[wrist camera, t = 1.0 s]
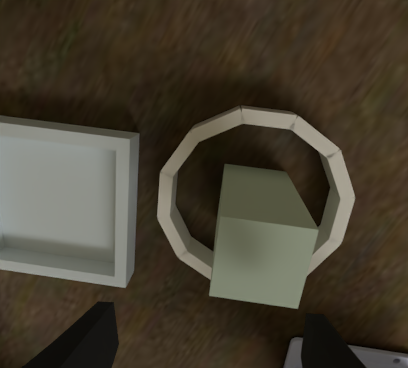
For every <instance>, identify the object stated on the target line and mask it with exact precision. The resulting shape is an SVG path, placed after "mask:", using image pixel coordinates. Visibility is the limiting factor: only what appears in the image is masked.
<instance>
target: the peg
mask: <svg viewBox="0 0 408 368" xmlns="http://www.w3.org/2000/svg"><path fill="white" fill-rule="evenodd" d="M318 231H319V229H318V227H317V226H316V224H315V222H314V220H313V219H312V217H311V215H310V213H309V211H308V210H307V208H306V206H305V204H304V203H303V201H302V199H301V197H300V196H299V194H298V192H297V190H296V188H295V187H294V185H293V183H292V181H291V180H290V178H289V176H288V174H287V173H286V172H285V171H277V170H269V169H262V168H254V167H246V166H239V165H231V164H225V165H224V172H223V179H222V186H221V193H220V201H219V208H218V215H217V224H216V233H215V243H214V253H213V263H212V273H211V282H210V292H209V296H214V297H221V298H228V299H234V300H241V301H248V302H255V303H261V304H268V305H275V306H282V307H288V308H295V309H298V306H299V302H300V299H301V295H302V291H303V287H304V284H305V280H306V276H307V273H308V269H309V265H310V261H311V258H312V254H313V250H314V246H315V243H316V239H317V235H318Z"/></svg>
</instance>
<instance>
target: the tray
mask: <svg viewBox="0 0 408 368" xmlns="http://www.w3.org/2000/svg"><path fill="white" fill-rule="evenodd" d="M139 135H140V133H134V132H126V131H118V130H111V129H103V128H95V127H87V126H79V125H71V124H64V123H56V122H48V121H40V120H32V119H24V118H16V117H9V116H1V115H0V269H3V270H9V271H16V272H23V273H29V274H36V275H43V276H49V277H56V278H63V279H69V280H76V281H83V282H89V283H96V284H103V285H109V286H116V287H123V288H126V286H127V284H128V282H129V280H130V278H131V276H132V274H133V272H134V262H135V237H136V211H137V186H138V160H139Z"/></svg>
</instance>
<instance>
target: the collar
mask: <svg viewBox="0 0 408 368" xmlns="http://www.w3.org/2000/svg"><path fill="white" fill-rule="evenodd" d="M240 124H251V125H259V126H267V127H275V128H283V129H291V130H292V131H293V132H295V133H296V134H297V135H299V136H300V137H301V138H302V139H304V140H305V141H306V142H307V143H309V144H310V145H311V146H312V147H314V148H315V149H316V150H318V152H319V155H320V158H321V161H322V164H323V167H324V170H325V173H326V176H327V179H328V182H329V185H330V191H329V195H328V198H327V202H326V206H325V209H324V213H323V217H322V221H321V224H320V225H319V226H318V229H319V231H318V235H317V239H316V243H315V246H314V250H313V254H312V258H311V261H310V265H309V269H308V273H307V275H309V274H310V273H311V272H312V271H313V270H314V269H315V268H316V267H317V266H318V265H319V264H320V263H321V262H323V261H324V260H325V259H326V258H327V257H328V256H329V255H330V254H331V253H332V252H333V251H334V250H335V249H336V248H338V247H339V246H340V245H341V244H340V243H342V240H343V237H344V234H345V230H346V227H347V224H348V220H349V217H350V214H351V210H352V207H353V204H354V200H355V198H354V197H355V195H354V192H353V188H352V185H351V182H350V179H349V175H348V172H347V169H346V166H345V162H344V159H343V156H342V153H341V150H340V149H339V148H338V147H337V146H336V145H334V144H333V143H332V142H331V141H329V140H328V139H327V138H326V137H324V136H323V135H322V134H321V133H319V132H318V131H317V130H316V129H314V128H313V127H312V126H311V125H309V124H308V123H307V122H306V121H304V120H303V119H302V118H301V117H299V116H298V115H296V114H295V113H293V112H291V111H284V110H276V109H268V108H259V107H251V106H243V105H241V109H240V106H237V107H235V108H232V109H230V110H228V111H225V112H223V113H221V114H219V115H216V116H214V117H212V118H209V119H207V120H205V121H202V122H200V123H198V124H195V125H194V126H193V127H192V128H191V130H190V131H189V132H188V134H187V135H186V137H185V138H184V139H183V141H182V142H181V143H180V145H179V146H178V148H177V149H176V150H175V152H174V153H173V155H172V156H171V157H170V159H169V160H168V161H167V163H166V164H165V166H164V167H163V168H162V170H161V172H160V181H159V196H158V211H157V217H158V221H159V223H160V225H161V227H162V229H163V230H164V232H165V234H166V236H167V238H168V240H169V242H170V244H171V246H172V248H173V250H174V252H175V253H176V255H177V257H179V259H180V260H182V261H183V262H185V263H186V264H188V265H189V266H191V267H192V268H194V269H195V270H197V271H198V272H200V273H201V274H203V275H204V276H205V277H207V278H208V279H210V280H211V273H212V263H213V253H214V252H213V251H211V250H210V249H209V248H207V247H206V246H204V245H203V244H201V243H200V242H198V241H197V240H196V239H194V238H193V237H191V235H190V233H189V231H188V229H187V227H186V225H185V223H184V221H183V219H182V217H181V215H180V213H179V211H178V209H177V207H176V205H175V201H176V189H177V178H178V169H179V168H180V167H181V165H182V164H183V163H184V161H185V160H186V159H187V157H188V156H189V155H190V153H191V152H192V151H193V149H194V148H195V147H196V145H197V144H198V142H200V141H202V140H205V139H207V138H209V137H212V136H214V135H217V134H219V133H221V132H224V131H226V130H228V129H231V128H233V127H236V126H238V125H240Z"/></svg>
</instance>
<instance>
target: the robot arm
mask: <svg viewBox="0 0 408 368" xmlns="http://www.w3.org/2000/svg"><path fill="white" fill-rule="evenodd" d="M118 345H119V342H118V334H117V326H116V318H115V310H114V302H97V303H96V304H95V305H94V306H93V307H92V308H90V309H89V310H88V311H87V312H86V313H85V314H84V315H83V316H82V317H81V318H79V319H78V320H77V321H76V322H75V323H74V324H73V325H72V326H71V327H69V328H68V329H67V330H66V331H65V332H64V333H63V334H62V335H60V336H59V337H58V338H57V339H56V340H55V341H54V342H52V343H51V344H50V345H49V346H48V347H46V348H45V349H44V350H43V351H42V352H40V353H39V354H38V355H37V356H35V357H34V358H33V359H32V360H31V361H29V362H28V363H27V364H26V365H24V366H23V367H22V368H112V364H113V361H114V358H115V355H116V352H117V348H118ZM283 368H408V354H404V353H397V352H391V351H384V350H378V349H371V348H365V347H358V346H352V345H347V344H346V342H345V341H344V340H343V339H342V337H341V336H340V335H339V333H338V332H337V331H336V330H335V328H334V327H333V326H332V324H331V323H330V322H329V320H328V319H327V318H326V317H325V316H324V315H323V314H307V313H306V318H305V326H304V334H303V338H299V337H295V338H293V339H291V341H290V345H289V349H288V352H287V356H286V360H285V363H284V367H283Z"/></svg>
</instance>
